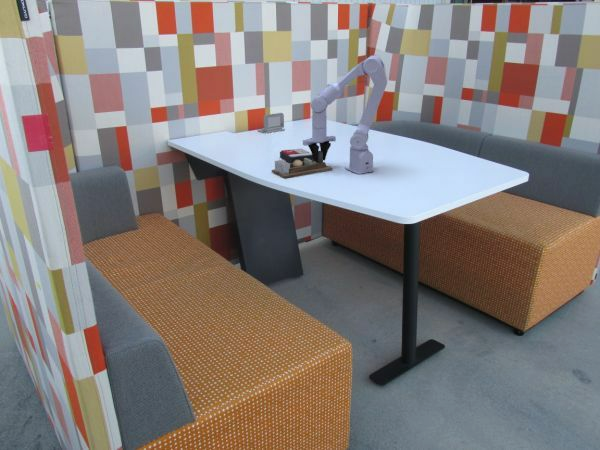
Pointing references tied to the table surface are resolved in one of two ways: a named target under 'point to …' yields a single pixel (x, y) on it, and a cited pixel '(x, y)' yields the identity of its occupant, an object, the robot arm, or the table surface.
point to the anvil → (282, 167)
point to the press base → (304, 170)
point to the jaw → (309, 162)
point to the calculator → (295, 155)
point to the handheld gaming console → (273, 123)
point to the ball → (297, 163)
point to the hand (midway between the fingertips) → (319, 160)
